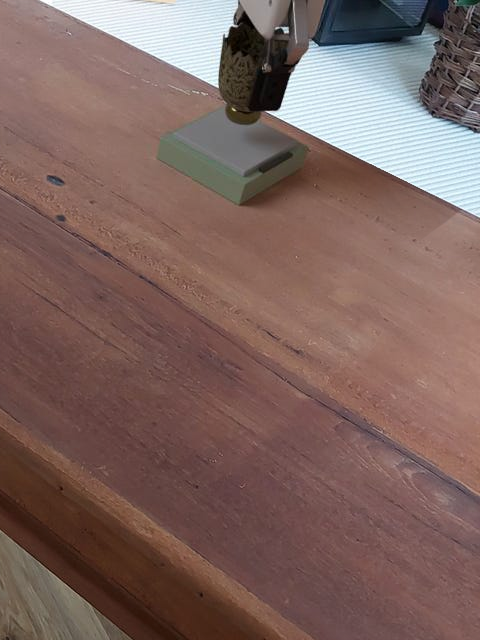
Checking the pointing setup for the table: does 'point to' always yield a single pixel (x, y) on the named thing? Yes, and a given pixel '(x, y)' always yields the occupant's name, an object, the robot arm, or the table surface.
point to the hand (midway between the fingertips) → (250, 87)
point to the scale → (232, 155)
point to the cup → (241, 70)
